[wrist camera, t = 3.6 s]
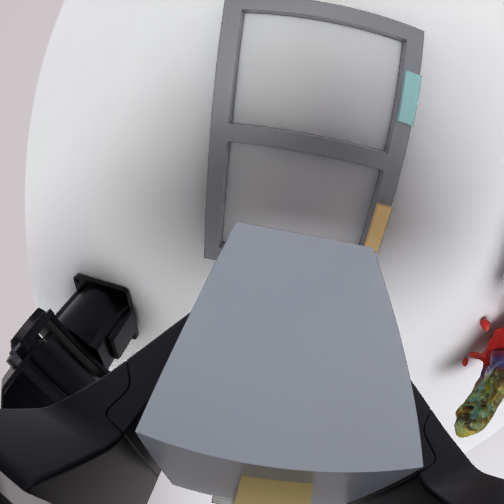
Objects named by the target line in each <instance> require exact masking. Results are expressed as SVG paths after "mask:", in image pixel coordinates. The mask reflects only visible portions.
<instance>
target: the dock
mask: <svg viewBox="0 0 504 504" xmlns="http://www.w3.org/2000/svg"><path fill="white" fill-rule="evenodd" d="M244 13H264V14H276V15H286V16H295V17H302V18H309V19H315V20H321V21H327V22H332V23H337V24H342V25H346V26H350V27H354V28H358V29H362V30H366V31H370V32H373V33H377V34H380V35H383V36H387V37H390V38H393V39H396V40H399V41H402V42H403V43H402V52H401V61H400V69H399V76H398V83H397V90H396V96H395V102H394V108H393V113H392V118H391V124H390V129H389V134H388V138H387V143H386V148H385V151H382V150H379V149H375V148H371V147H367V146H363V145H359V144H355V143H351V142H346V141H342V140H337V139H333V138H328V137H323V136H318V135H313V134H308V133H302V132H296V131H290V130H284V129H277V128H271V127H263V126H256V125H247V124H238V123H232V114H233V105H234V95H235V86H236V77H237V68H238V59H239V51H240V43H241V35H242V27H243V19H244ZM423 42H424V31H423V30H420V29H417V28H415V27H412V26H410V25H407V24H404V23H401V22H399V21H396V20H393V19H390V18H386V17H383V16H380V15H377V14H373V13H370V12H366V11H362V10H358V9H354V8H350V7H346V6H341V5H336V4H331V3H326V2H320V1H314V0H225V2H224V9H223V16H222V23H221V31H220V39H219V47H218V55H217V64H216V73H215V83H214V94H213V105H212V116H211V129H210V142H209V157H208V174H207V193H206V216H205V248H204V258H208V259H213V260H217V259H218V257H219V255H220V253H221V251H222V249H223V247H224V245H225V242H222V237H223V222H224V208H225V194H226V181H227V169H228V157H229V146H230V142H238V143H246V144H254V145H261V146H268V147H274V148H281V149H287V150H293V151H299V152H304V153H310V154H315V155H320V156H325V157H330V158H335V159H339V160H344V161H348V162H353V163H357V164H361V165H365V166H369V167H373V168H377V169H380V173H379V177H378V181H377V185H376V189H375V192H374V196H373V200H372V203H371V207H370V211H369V214H368V217H367V221H366V224H365V227H364V231H363V234H362V237H361V240H360V244H359V245H362V246H367V247H372V248H373V250H374V253H376V252H378V249H379V246H380V243H381V241H382V238H383V235H384V232H385V229H386V226H387V223H388V220H389V216H390V213H391V210H392V208H391V204H392V201H393V198H394V194H395V191H396V187H397V183H398V180H399V176H400V172H401V168H402V164H403V160H404V156H405V152H406V148H407V144H408V139H409V134H410V130H411V125H412V126H413V124H414V119H415V113H416V108H417V102H418V96H419V90H420V83H421V76H420V70H421V62H422V53H423Z"/></svg>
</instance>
